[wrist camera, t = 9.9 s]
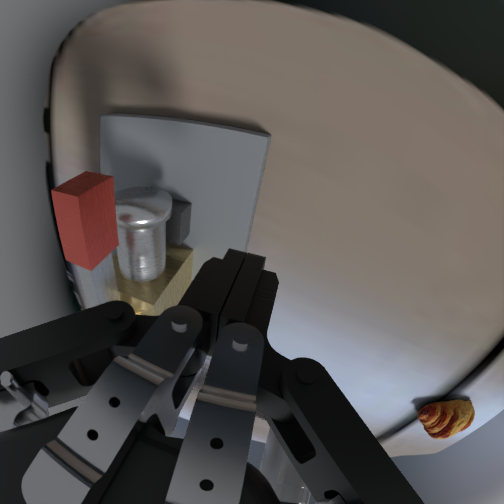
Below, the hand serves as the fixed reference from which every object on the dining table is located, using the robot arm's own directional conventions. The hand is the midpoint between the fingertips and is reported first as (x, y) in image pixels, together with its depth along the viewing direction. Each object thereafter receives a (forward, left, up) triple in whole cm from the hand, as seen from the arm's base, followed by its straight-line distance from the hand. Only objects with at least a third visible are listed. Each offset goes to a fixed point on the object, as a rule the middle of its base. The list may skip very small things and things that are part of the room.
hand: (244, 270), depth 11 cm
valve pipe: (-10, +9, -10) cm, 17 cm away
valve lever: (-5, +9, -2) cm, 11 cm away
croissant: (-30, -42, -12) cm, 53 cm away
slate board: (-10, +9, -12) cm, 18 cm away
